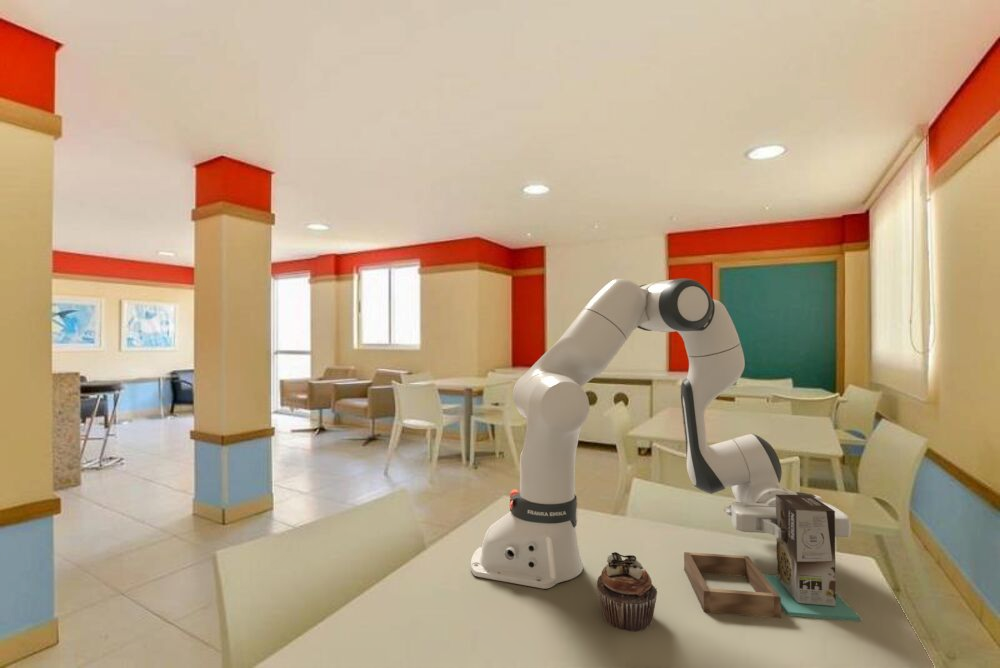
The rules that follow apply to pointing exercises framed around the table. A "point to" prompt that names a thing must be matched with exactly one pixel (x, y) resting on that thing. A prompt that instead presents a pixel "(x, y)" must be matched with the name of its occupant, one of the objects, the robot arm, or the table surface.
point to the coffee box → (806, 549)
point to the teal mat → (811, 605)
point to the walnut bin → (731, 601)
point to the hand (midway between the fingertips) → (806, 535)
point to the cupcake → (626, 593)
